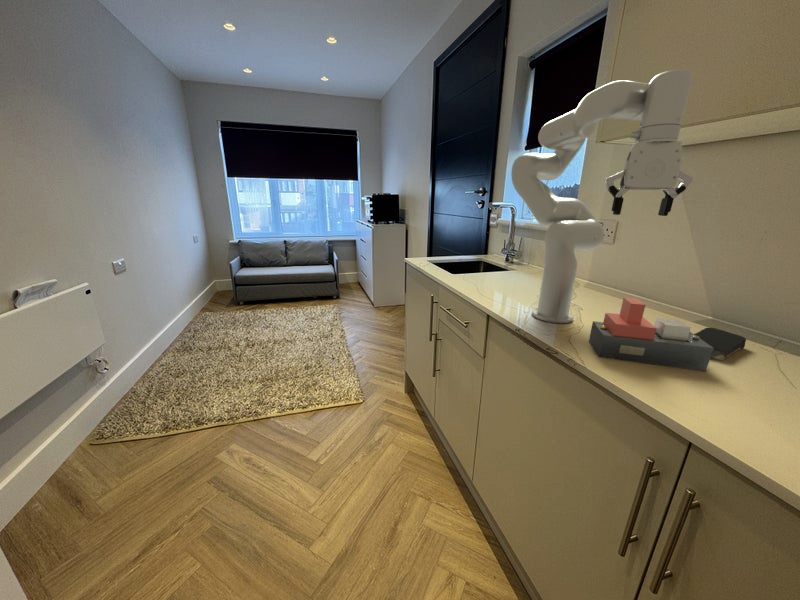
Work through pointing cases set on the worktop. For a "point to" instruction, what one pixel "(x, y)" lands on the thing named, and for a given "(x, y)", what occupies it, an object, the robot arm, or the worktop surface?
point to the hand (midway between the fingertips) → (639, 215)
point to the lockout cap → (630, 321)
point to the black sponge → (721, 342)
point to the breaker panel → (654, 346)
